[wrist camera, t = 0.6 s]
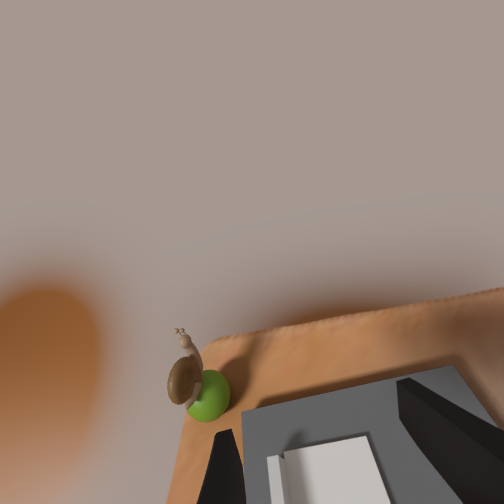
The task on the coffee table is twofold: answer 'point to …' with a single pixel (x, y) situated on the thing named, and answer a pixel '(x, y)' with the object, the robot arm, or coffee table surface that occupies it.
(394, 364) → the coffee table surface
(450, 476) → the robot arm
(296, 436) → the socket plate
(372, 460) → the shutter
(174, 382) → the snail figurine
